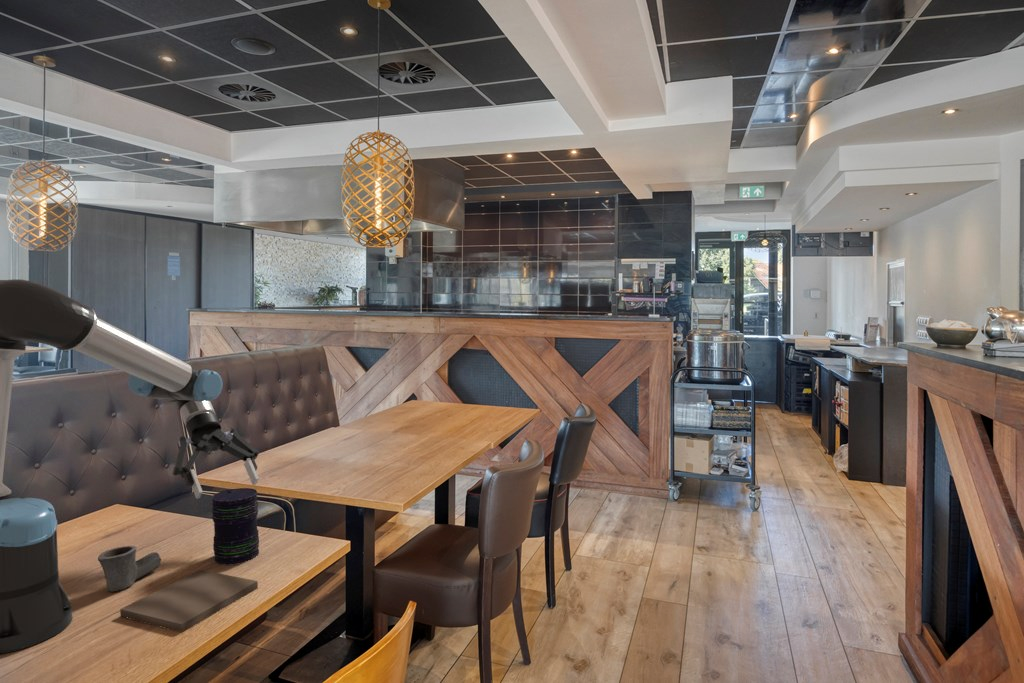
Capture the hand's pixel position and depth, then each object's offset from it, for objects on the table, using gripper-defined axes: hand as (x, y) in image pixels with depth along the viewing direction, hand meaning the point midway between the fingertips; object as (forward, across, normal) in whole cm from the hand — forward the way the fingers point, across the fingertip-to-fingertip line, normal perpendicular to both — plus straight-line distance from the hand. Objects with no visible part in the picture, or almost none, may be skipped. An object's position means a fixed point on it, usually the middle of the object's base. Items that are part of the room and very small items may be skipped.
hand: (228, 488), depth 143 cm
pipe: (+12, +22, -9) cm, 27 cm away
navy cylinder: (+15, +1, -6) cm, 16 cm away
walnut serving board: (+25, +17, +5) cm, 31 cm away
